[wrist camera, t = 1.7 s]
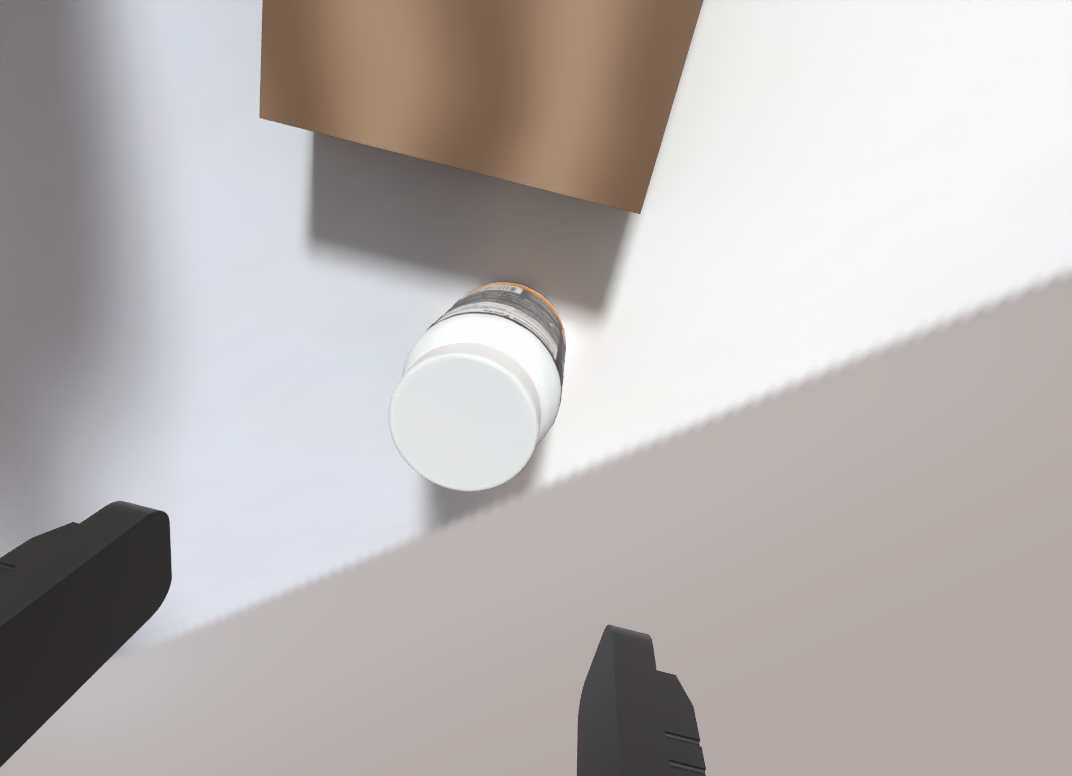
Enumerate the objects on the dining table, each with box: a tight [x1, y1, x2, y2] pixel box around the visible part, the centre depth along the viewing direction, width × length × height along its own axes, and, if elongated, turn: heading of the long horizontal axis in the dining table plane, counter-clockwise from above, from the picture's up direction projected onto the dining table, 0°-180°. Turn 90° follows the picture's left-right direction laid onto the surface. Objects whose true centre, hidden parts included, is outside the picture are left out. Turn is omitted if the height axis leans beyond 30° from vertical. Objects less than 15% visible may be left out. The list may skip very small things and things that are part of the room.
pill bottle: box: [389, 282, 566, 491], centre depth 21 cm, size 6×6×10 cm
